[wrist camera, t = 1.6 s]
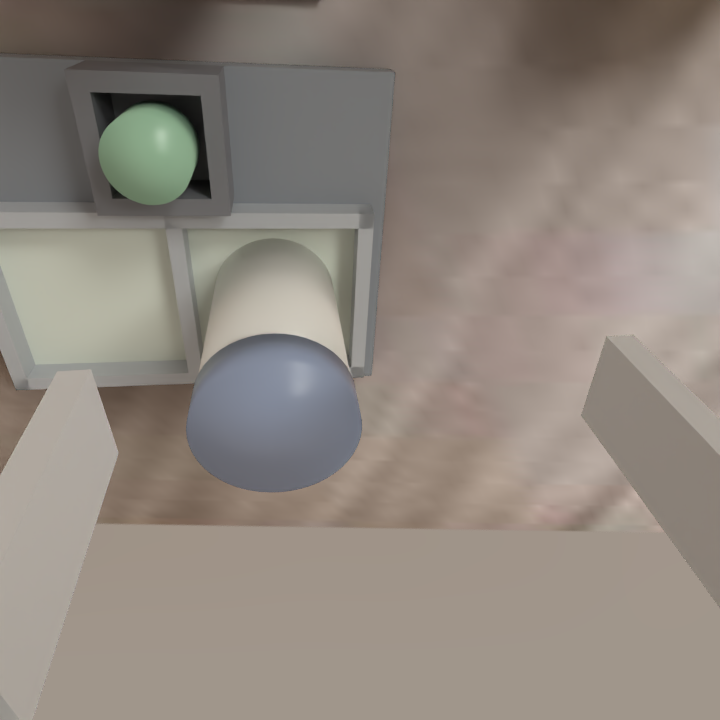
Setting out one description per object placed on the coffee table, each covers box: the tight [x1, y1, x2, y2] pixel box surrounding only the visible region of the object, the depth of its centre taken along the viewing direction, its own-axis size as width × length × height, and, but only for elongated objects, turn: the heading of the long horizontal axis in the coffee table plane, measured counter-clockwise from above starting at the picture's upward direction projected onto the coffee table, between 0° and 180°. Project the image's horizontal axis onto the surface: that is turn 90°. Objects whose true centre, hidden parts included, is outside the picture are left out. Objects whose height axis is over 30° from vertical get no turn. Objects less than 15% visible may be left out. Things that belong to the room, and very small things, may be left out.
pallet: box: [0, 53, 395, 390], centre depth 29 cm, size 18×22×4 cm
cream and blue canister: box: [186, 238, 362, 492], centre depth 27 cm, size 7×7×12 cm
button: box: [98, 100, 200, 205], centre depth 23 cm, size 4×4×3 cm
